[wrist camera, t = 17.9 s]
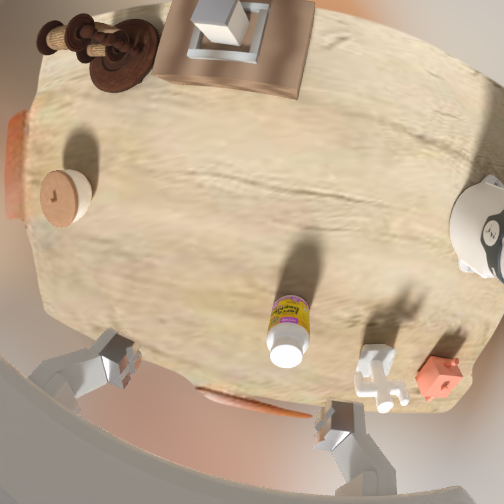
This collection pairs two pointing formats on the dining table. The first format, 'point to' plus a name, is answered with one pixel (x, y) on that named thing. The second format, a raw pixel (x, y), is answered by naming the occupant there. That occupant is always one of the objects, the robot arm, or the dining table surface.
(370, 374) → the figurine
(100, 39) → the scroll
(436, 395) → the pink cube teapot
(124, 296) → the dining table surface
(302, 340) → the supplement bottle
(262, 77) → the block
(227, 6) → the grey white rectangular block
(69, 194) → the lidded jar
